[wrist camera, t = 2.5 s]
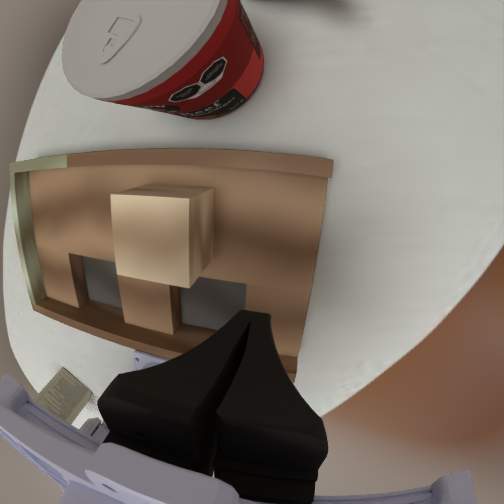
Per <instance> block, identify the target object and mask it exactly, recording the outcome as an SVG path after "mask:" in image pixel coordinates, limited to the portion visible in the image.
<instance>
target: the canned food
mask: <svg viewBox="0 0 504 504" xmlns="http://www.w3.org/2000/svg"><path fill="white" fill-rule="evenodd" d="M263 62H264V59H263V52H262V49H261V46H260V44H259V41H258V39H257V37H256V34H255V32H254V30H253V28H252V25H251V23H250V21H249V19H248V17H247V14H246V12H245V10H244V8H243V6H242V4H241V2H240V0H82V1H81V2H80V3H79V5H78V7H77V9H76V10H75V12H74V14H73V16H72V18H71V20H70V23H69V25H68V27H67V30H66V33H65V37H64V41H63V48H62V63H63V70H64V73H65V75H66V78H67V80H68V82H69V83H70V84H71V86H72V87H73V88H74V89H75V90H77V91H78V92H79V93H81V94H82V95H85V96H89V97H91V98H94V99H98V100H101V101H107V102H113V103H116V104H122V105H128V106H134V107H139V108H145V109H150V110H155V111H159V112H164V113H169V114H173V115H178V116H182V117H186V118H191V119H197V120H198V119H211V118H215V117H219V116H222V115H224V114H226V113H229V112H231V111H232V110H234V109H235V108H237V107H239V106H240V105H241V104H242V103H243V102H244V101H245V100H246V99H248V97H249V96H250V95H251V94H252V92H253V91H254V90H255V88H256V86H257V84H258V82H259V81H260V78H261V74H262V71H263Z"/></svg>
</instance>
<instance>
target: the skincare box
mask: <svg viewBox="0 0 504 504" xmlns="http://www.w3.org/2000/svg"><path fill="white" fill-rule="evenodd" d="M91 395H92V392H91V391H90V390H89V389H88V388H86V387H85V386H84V385H83V384H82V383H80V382H79V381H78V380H77V379H76V378H75V377H73V376H72V375H71V374H70V373H69V372H68V371H66V370H65V369H64V368H62V369H61V370H60V371H59V372H58V373H57V374H56V375H55V376H54V377H53V378H52V379H51V381H50V382H49V383H48V384H47V385H46V386H45V387H44V388H43V389H42V391H41V392H40V393H39V394H38V395H37V396H36V397H35V399H34V400H33V401H35V402H36V403H38V404H39V405H41V406H42V407H44V408H45V409H46V410H48V411H49V412H51V413H53V414H54V415H56V416H57V417H59V418H60V419H62V420H64V421H65V422H67V423H69V424H70V425H71V424H72V423H73V421H74V420H75V419H76V417H77V416H78V414H79V413H80V412H81V410H82V409H83V408H84V406H85V405H86V404H87V402H88V401H89V399H90V397H91Z"/></svg>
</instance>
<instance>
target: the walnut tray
mask: <svg viewBox="0 0 504 504" xmlns="http://www.w3.org/2000/svg"><path fill="white" fill-rule="evenodd" d="M332 170H333V160H331V159H325V158H318V157H310V156H302V155H293V154H283V153H273V152H261V151H247V150H229V149H202V148H152V149H125V150H109V151H95V152H84V153H74V154H66V155H57V156H50V157H43V158H36V159H30V160H24V161H19V162H14V163H10V187H11V200H12V210H13V219H14V226H15V233H16V239H17V245H18V251H19V256H20V261H21V265H22V270H23V274H24V278H25V282H26V286H27V290H28V293H29V297H30V300H31V304H32V307H33V310H34V311H36V312H39V313H41V314H43V315H45V316H47V317H50V318H52V319H54V320H57V321H59V322H61V323H64V324H66V325H69V326H71V327H74V328H76V329H79V330H81V331H84V332H86V333H89V334H92V335H94V336H97V337H100V338H103V339H106V340H108V341H111V342H114V343H117V344H120V345H123V346H127V347H130V348H133V349H136V350H139V351H143V352H146V353H149V354H153V355H156V356H160V357H164V358H167V359H173V358H175V357H177V356H179V355H182V354H184V353H186V352H187V351H189V350H191V349H193V348H194V347H196V346H197V345H199V344H200V343H202V342H203V341H205V340H206V339H207V338H209V337H210V336H211V335H213V334H214V333H215V332H217V331H218V330H219V329H220V328H221V327H222V326H224V325H225V324H226V323H227V322H228V321H229V320H230V319H231V318H232V317H233V316H234V315H235V314H236V313H237V312H238V311H239V310H241V309H243V310H249V311H255V312H262V313H269V314H270V315H271V328H272V334H273V338H274V342H275V345H276V349H277V352H278V354H279V357H280V359H281V362H282V364H283V366H284V368H285V370H286V372H287V374H288V376H289V378H290V380H291V381H292V383H294V381H295V377H296V372H297V358H298V353H299V348H300V344H301V339H302V335H303V330H304V325H305V320H306V315H307V310H308V305H309V300H310V294H311V289H312V283H313V278H314V272H315V266H316V260H317V254H318V248H319V241H320V235H321V228H322V221H323V213H324V206H325V198H326V190H327V182H328V178H332ZM146 184H168V185H187V186H203V187H215V210H214V239H213V260H212V261H211V262H210V264H209V265H208V266H207V267H206V269H205V270H204V271H203V272H202V273H201V275H200V276H199V277H198V278H197V280H196V281H195V282H194V283H193V285H192V286H191V287H190V288H185V287H179V286H173V285H168V284H163V283H157V282H152V281H147V280H142V279H137V278H132V277H127V276H122V275H118V274H117V271H116V262H115V253H114V243H113V231H112V217H111V194H113V193H117V192H120V191H124V190H127V189H131V188H134V187H138V186H142V185H146ZM180 297H181V299H180ZM181 314H182V316H181Z"/></svg>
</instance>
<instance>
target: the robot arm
mask: <svg viewBox="0 0 504 504" xmlns="http://www.w3.org/2000/svg"><path fill="white" fill-rule="evenodd" d="M133 357H134V361H135V365H136V369H137V371H132V372H127V373H122V374H118V375H117V377H116V378H115V379H114V380H113V381H112V382H111V383H110V385H109V386H108V387H107V389H106V390H105V391H104V393H103V394H102V395H101V397H100V398H99V399H98V404H97V405H98V408H99V411H100V414H101V416H102V418H103V420H104V421H103V422H102V424H101V420H100V419H99V418H90V419H88V420H87V421H86V422H85V423H84V424H83V425H82V427H81V428H80V429H77V428H75V427H74V426H72V425H70V424H69V423H67V422H65V421H64V420H62V419H60V418H59V417H57V416H56V415H54V414H53V413H51V412H49V411H48V410H46V409H45V408H44V407H42V406H41V405H39V404H38V403H36V402H35V401H33V400H32V399H31V398H30V397H29V395H28V393H27V391H26V390H25V388H24V387H23V386H22V385H21V384H20V383H19V382H18V381H17V380H15V379H14V378H13V377H12V376H10V375H9V374H6V375H4V377H2V378H1V380H0V434H1V435H2V436H3V437H4V438H5V439H6V440H7V441H8V442H9V443H10V444H11V445H12V446H13V447H14V448H15V449H16V450H18V451H19V452H20V453H21V454H22V455H23V456H24V457H26V458H27V459H28V460H29V461H30V462H31V463H32V464H34V465H35V466H36V467H37V468H39V469H40V470H41V471H42V472H44V473H45V474H46V475H47V476H49V477H50V478H52V479H53V480H54V481H55V482H57V483H58V484H59V485H60V487H61V489H62V491H63V495H62V496H61V498H60V500H59V501H58V503H57V504H477V500H476V495H475V490H474V486H473V482H472V478H471V474H470V470H469V469H465V470H461V471H458V472H454V473H450V474H447V475H444V476H443V477H440V478H439V479H437V480H436V481H435V482H434V483H433V484H432V485H430V486H425V487H420V488H415V489H409V490H402V491H396V492H388V493H380V494H367V495H352V496H351V495H350V496H314V493H315V482H316V481H317V478H318V469H319V467H320V466H321V464H322V463H323V461H324V460H325V458H326V457H327V454H328V441H327V435H326V432H325V428H324V424H323V421H322V419H321V418H320V417H319V416H318V415H317V414H316V413H315V412H314V411H313V410H312V408H311V407H310V406H309V405H308V404H307V403H306V401H305V400H304V399H303V398H302V396H301V395H300V393H299V392H298V390H297V389H296V387H295V386H294V385H293V383H292V381H291V380H290V378H289V376H288V374H287V372H286V370H285V368H284V366H283V364H282V362H281V359H280V357H279V354H278V352H277V349H276V345H275V342H274V338H273V334H272V328H271V315H270V314H269V313H262V312H255V311H249V310H243V309H241V310H239V311H238V312H237V313H236V314H235V315H234V316H233V317H232V318H231V319H230V320H229V321H228V322H227V323H226V324H225V325H224V326H222V327H221V328H220V329H219V330H218V331H217V332H215V333H214V334H213V335H211V336H210V337H209V338H207V339H206V340H205V341H203V342H202V343H200V344H199V345H197V346H196V347H194V348H193V349H191V350H189V351H187V352H186V353H184V354H182V355H179V356H177V357H175V358H173V359H171V360H168V359H165V358H161V357H157V356H154V355H150V354H147V353H144V352H140V351H134V352H133ZM213 472H214V476H215V478H213V477H212V476H213Z"/></svg>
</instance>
